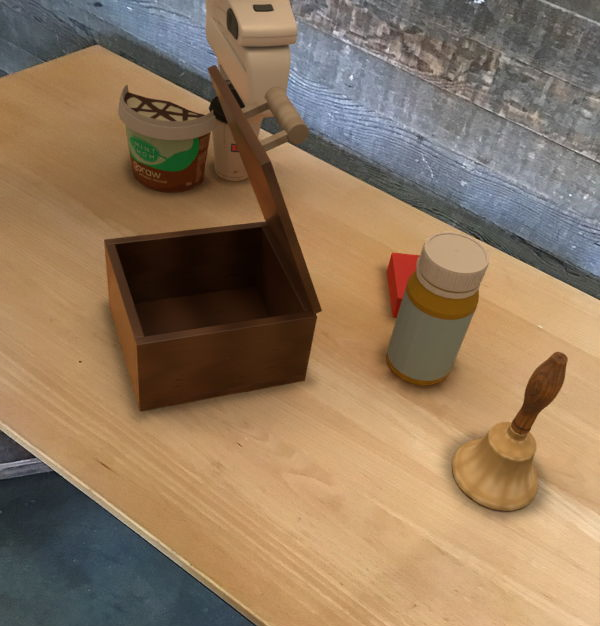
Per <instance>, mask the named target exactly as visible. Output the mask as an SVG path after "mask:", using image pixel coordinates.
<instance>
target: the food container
mask: <svg viewBox="0 0 600 626" xmlns="http://www.w3.org/2000/svg"><path fill="white" fill-rule="evenodd" d="M117 114H118V117H119V119H120V121H121V122H122V123H123V124H124V125H125V131H126V138H127V146H128V152H129V159H130V165H131V172H132V175H133V177H134V179H135V180H136V181H137V182H138V184H140V185H141V186H144V187H145V188H146V189H150V190H152V191H156V192H162V193H182V192H186V191H190V190H193V189H194V188H196V187H198V186H199V185H200V184H202V182H204V178H205V172H206V167H207V166H206V165H207V158H208V152H209V145H210V138H211V133H212V131H213V130H214V129H215V128H216V127H217V126H216V119H215V115H213V110H212V111H211V112H210V111H209V112H208V113H206V114H203V113H199V112H195V111H193V110H189V109H187V108H185V107H183V106H181V105H179V104H177V103H174V102H171V101H169V100H163V99H156V98H150V97H146V96H142V95H139V94H135V93H132V92H129V86H128V84H126V85H124V87H123V88H122V91H121V93H120V95H119V101H118V107H117Z"/></svg>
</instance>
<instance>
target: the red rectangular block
mask: <svg viewBox="0 0 600 626" xmlns="http://www.w3.org/2000/svg"><path fill="white" fill-rule="evenodd" d="M420 255H421V254H411V253H402V252H391V254H390V258H389V262H388V265H387V268H386V277H387V284H388V293H389V300H390V308H391V316H392V318H397V315H398V312H399V309H400V305H401V302H402V299H403V295H404V292H405V289H406V285H407V283H408V280H409V277H410V276H411V275H412V274H413V272H414V271H415V270H416V268H417V265H418V263H419V258H420Z"/></svg>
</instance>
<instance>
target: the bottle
mask: <svg viewBox="0 0 600 626" xmlns="http://www.w3.org/2000/svg"><path fill="white" fill-rule="evenodd" d="M419 255H420V258H419V263H418V265H417V268H416V270H415V271H414V272H413V274H412V275H411V276H410V277H409V280H408V283H407V285H406V289H405V292H404V295H403V299H402V302H401V305H400V309H399V312H398V315H397V317H396V319H395V322H394V326H393V329H392V332H391V335H390V339H389V342H388V345H387V349H386V355H385V356H386V357H385V358H386V362H387V364H388V366H389V368H390V369H391V370H392V372H393V373H394V374H395V375H396V376H397V377H399V378H400V379H401V380H403V381H405V382H407V383H408V384H413V385H417V386H430V385H435V384H438V383H441V382H442V381H444V380H445V379H447V378H448V376H449V375H450V373H451V371H452V369H453V367H454V364H455V361H456V359H457V356H458V354H459V352H460V349H461V347H462V344H463V342H464V340H465V337H466V335H467V332H468V330H469V327H470V324H471V322H472V319H473V317H474V315H475V312H476V309H477V307H478V304H479V300H480V289H479V288H480V286H481V283H482V282H483V280H484V278H485V275H486V272H487V271H488V267H489V264H490V254H489V251H488V249H487V247H485V246H484V245H483V244H482V243H481V242H480V241H479V240H477V239H476V238H474V237H473V236H470V235H467V234H465V233H461V232H458V231H451V230H450V231H449V230H447V231H446V230H445V231H443V230H442V231H438V232H434V233H432V234H430V235H429V236H427V238H426V240H425V241H424V243H423V245H422V248H421V252H420V254H419Z"/></svg>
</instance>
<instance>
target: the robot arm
mask: <svg viewBox="0 0 600 626" xmlns="http://www.w3.org/2000/svg"><path fill="white" fill-rule="evenodd" d="M204 4H205V6H204V7H205V11H206V12H205V24H204V25H205V26H204V27H205V28H204V29H205V38H206V42H207V44H208V45H209V47H210V48H211V50H212V52H213V53H214V54H213V55H215V57H216V59H217V60H216V63H217V68H218V70H219V71H220V73H221V75H222V77H223V78H224V80H225V82H226V84H227V85H228V87H229V89H230V90H232V89H235V90H236V91H237V93H238V95H239V96H240V98H241V100H242V102H243V103H244V105H245V107H246V106H248V105H251V104H253V103H255V102H257V101H259V100H262V99H264V98H265V94H266V92H267V91H268V90H269V89H270V88H272V87H280V88H282V89H283V90H284V92H285V93H286V94H287V91H288V86H289V79H290V73H291V72H290V71H291V61H292V59H291V58H292V57H291V55H292V54H291V48H290V45H295V44H296V42H297V40H298V39H297V38H298V29H299V28H298V24H297V20H296V17H295V15H294V12H293V10H292V9H293V8H292V6H291V0H205V3H204ZM272 117H274V116H273V114H272V112H271V111H270V109H268V110H266V111H264V112H262V113H259V114H257V115H255V116H253V117H251V118H248V119H247V120H248V122H249V124H250V125H251V127H252V129H253V131H254V132H255V134H256V136H258V137H259V135H260V132H261V126H260V123H261V124H262V122H261V121H263V119H264V118H272Z"/></svg>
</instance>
